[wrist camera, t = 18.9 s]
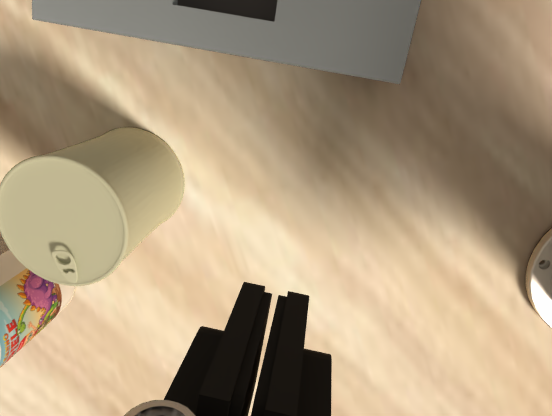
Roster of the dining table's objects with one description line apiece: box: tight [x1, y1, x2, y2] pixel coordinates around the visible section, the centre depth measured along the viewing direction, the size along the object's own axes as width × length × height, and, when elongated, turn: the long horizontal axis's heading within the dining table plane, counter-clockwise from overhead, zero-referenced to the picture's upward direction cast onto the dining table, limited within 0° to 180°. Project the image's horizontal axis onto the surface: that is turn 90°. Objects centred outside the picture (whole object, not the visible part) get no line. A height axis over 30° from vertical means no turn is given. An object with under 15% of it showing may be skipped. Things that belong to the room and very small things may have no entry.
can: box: [0, 127, 184, 286], centre depth 34 cm, size 9×9×12 cm
